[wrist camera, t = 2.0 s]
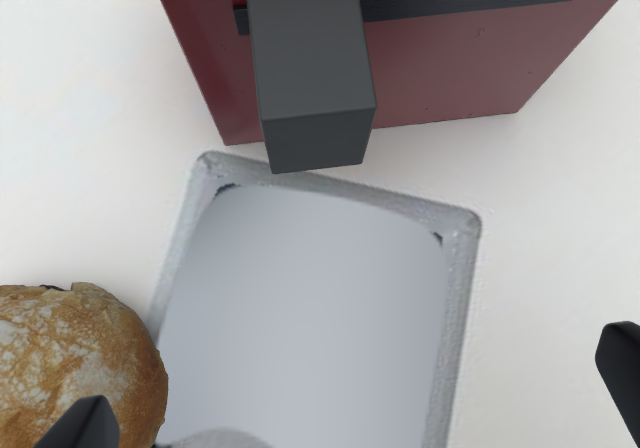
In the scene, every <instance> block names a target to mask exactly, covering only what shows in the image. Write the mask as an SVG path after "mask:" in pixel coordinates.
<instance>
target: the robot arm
mask: <svg viewBox="0 0 640 448" xmlns="http://www.w3.org/2000/svg"><path fill="white" fill-rule="evenodd" d="M595 362H596V366H597V368H598V371H599V373H600V375H601V377H602V379H603V381H604V382H605V384H606V386H607V388H608V390H609V392H610V394H611V396H612V398H613V400H614V402H615V404H616V406H617V408H618V410H619V412H620V414H621V416H622V418H623V420H624V422H625V424H626V426H627V428H628V430H629V432H630V434H631V436H632V437H633V439H634V441H635V443H636V445H637V447H638V448H640V326H639V325H637V324H635V323H633V322H630V321H622V322H615V323H609V324H606V325H605V326H604V328H603V330H602V333H601V337H600V340H599V343H598V347H597V350H596V354H595ZM119 441H120V427H119V423H118V421H117V418H116V416H115V414H114V412H113V410H112V408H111V406H110V404H109V401H108V399H107V398H106V397H105V396H104V395H100V394H99V395H92V396H85V397H81V398H79V399H77V400H76V401H75V402H74V403H73V404H72V405H71V406H70V407H69V408H68V409H67V411H66V412H65V413H64V414H63V415H62V416H61V417H60V418H59V419H58V420H57V421H56V422H55V423H54V424H53V426H52V427H51V428H50V429H49V430H48V431H47V432H46V433H45V434H44V435H43V436H42V437H41V438H40V439H39V441H38V442H37V443H36V444H35V445H34V446H33V447H32V448H119Z"/></svg>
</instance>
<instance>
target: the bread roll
mask: <svg viewBox="0 0 640 448" xmlns="http://www.w3.org/2000/svg"><path fill="white" fill-rule="evenodd" d="M99 394H100V395H104V396H105V397H106V398H107V399H108V401H109V404H110V406H111V408H112V410H113V412H114V414H115V416H116V418H117V421H118V423H119V427H120V441H119V448H151V447H152V445H153V444H154V442H155V439H156V436H157V433H158V431H159V428H160V426H161V425H162V424H163V423H164V421H165V418H164V415H165V411H166V405H167V396H168V374H167V373H166V371H165V368H164V364H163V362H162V359H161V358H160V354H159V350H157V349H156V347H155V345H154V344H153V342H152V340H151V339H150V336H149V334H148V331H147V330H146V328H145V326H144V324H143V322H142V321H141V320H140V318H139V317H138V316H137V314H136V313H135V312H134V311H133V310H132V309H130V308H128V307H127V306H125V305H124V304H122V303H121V302H120V301H118V300H117V299H116V298H115V297H114V296H113V295H112V294H110V293H107V292H106V291H105V290H104V289H101V288H98V287H96V286H95V285H93V284H91V283H86V282H79V283H72V286H71V291H68V290H63V289H61V288H58V287H55V286H49V285H48V286H46V285H40V286H39V287H34V286H31V287H27V286H24V285H2V286H0V448H32V447H33V446H34V445H35V444H36V443H37V442H38V441H39V439H40V438H41V437H42V436H43V435H44V434H45V433H46V432H47V431H48V430H49V429H50V428H51V427H52V426H53V424H54V423H55V422H56V421H57V420H58V419H59V418H60V417H61V416H62V415H63V414H64V413H65V412H66V411H67V409H68V408H69V407H70V406H71V405H72V404H73V403H74V402H75V401H76V400H77V399H79V398H81V397H85V396H92V395H99Z"/></svg>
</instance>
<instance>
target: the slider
mask: <svg viewBox="0 0 640 448" xmlns="http://www.w3.org/2000/svg"><path fill="white" fill-rule="evenodd" d="M246 2H247V11H248V20H249V30H250V39H251V48H252V57H253V66H254V75H255V84H256V94H257V103H258V112H259V120H260V125H261V129H262V133H263V137H264V141H265V146H266V150H267V154H268V158H269V163H270V167H271V171H272V173H273V174H280V173H289V172H297V171H306V170H314V169H323V168H331V167H340V166H348V165H357V164H361V163H362V161H363V158H364V154H365V151H366V147H367V144H368V140H369V136H370V133H371V129H372V126H373V122H374V119H375V115H376V112H377V108H378V104H377V98H376V93H375V87H374V81H373V75H372V69H371V64H370V58H369V52H368V46H367V40H366V35H365V29H364V23H363V17H362V11H361V6H360V0H246Z"/></svg>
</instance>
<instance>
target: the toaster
mask: <svg viewBox="0 0 640 448" xmlns="http://www.w3.org/2000/svg"><path fill="white" fill-rule="evenodd" d="M160 1H161V3H162V6H163V8H164V10H165V12H166V15H167V17H168V19H169V21H170V24H171V26H172V28H173V30H174V33H175V35H176V37H177V39H178V42H179V44H180V46H181V48H182V50H183V53H184V55H185V57H186V59H187V62H188V64H189V66H190V68H191V71H192V73H193V75H194V77H195V80H196V82H197V84H198V86H199V89H200V91H201V93H202V95H203V98H204V100H205V102H206V104H207V107H208V109H209V111H210V113H211V116H212V118H213V120H214V122H215V125H216V127H217V129H218V131H219V134H220V136H221V138H222V140H223V143H224V145H233V144H242V143H251V142H260V141H264V137H263V133H262V129H261V125H260V120H259V112H258V103H257V94H256V84H255V75H254V66H253V57H252V48H251V39H250V30H249V20H248V11H247V2H246V0H160ZM617 1H618V0H360V6H361V11H362V17H363V23H364V29H365V35H366V40H367V46H368V52H369V58H370V64H371V69H372V75H373V81H374V87H375V93H376V98H377V104H378V108H377V112H376V115H375V119H374V122H373V126H372V129H374V128H383V127H391V126H400V125H409V124H418V123H426V122H435V121H444V120H453V119H462V118H470V117H479V116H488V115H497V114H505V113H514V112H518V111H519V110H520V109H521V108H522V107H523V105H524V104H525V103H526V102H527V101H528V100H529V99H530V98H531V97H532V95H533V94H534V93H535V92H536V91H537V90H538V89H539V88H540V87H541V85H542V84H543V83H544V82H545V81H546V80H547V79H548V78H549V77H550V75H551V74H552V73H553V72H554V71H555V70H556V69H557V68H558V67H559V65H560V64H561V63H562V62H563V61H564V60H565V59H566V58H567V57H568V55H569V54H570V53H571V52H572V51H573V50H574V49H575V48H576V47H577V45H578V44H579V43H580V42H581V41H582V40H583V39H584V38H585V36H586V35H587V34H588V33H589V32H590V31H591V30H592V29H593V28H594V26H595V25H596V24H597V23H598V22H599V21H600V20H601V19H602V18H603V16H604V15H605V14H606V13H607V12H608V11H609V10H610V9H611V8H612V6H613V5H614V4H615V3H616V2H617Z"/></svg>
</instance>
